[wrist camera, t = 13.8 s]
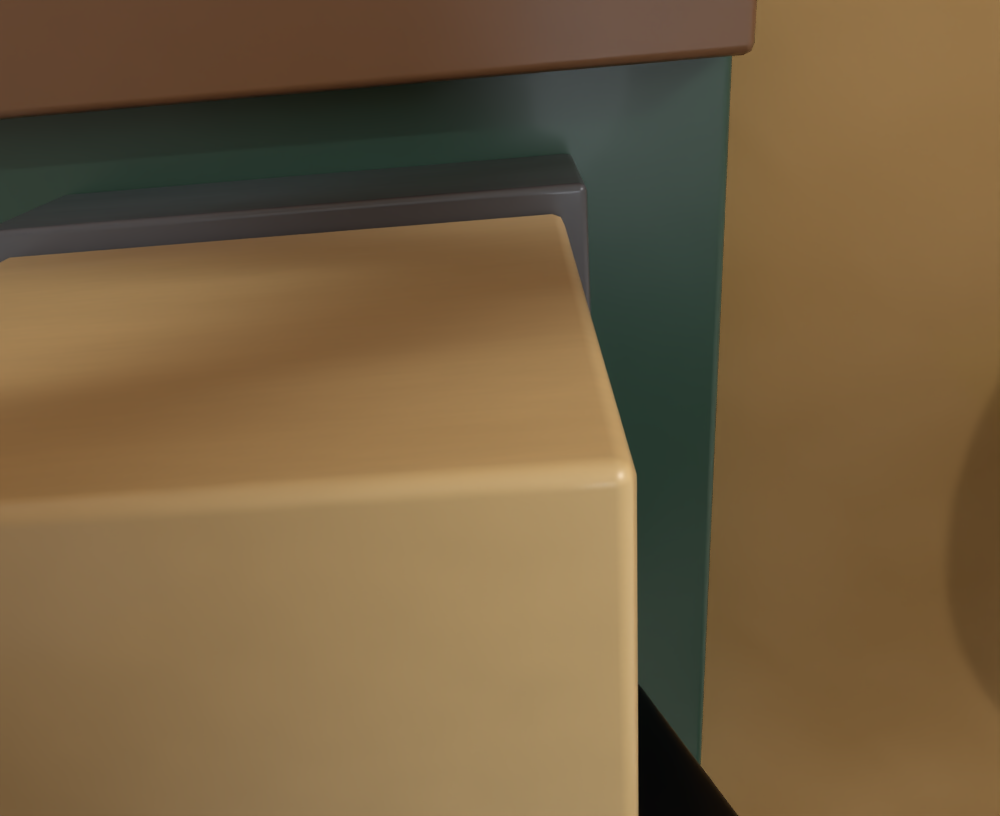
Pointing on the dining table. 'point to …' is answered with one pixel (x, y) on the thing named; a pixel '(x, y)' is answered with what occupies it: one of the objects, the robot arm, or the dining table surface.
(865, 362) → the dining table surface
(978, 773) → the dining table surface
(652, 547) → the slate board
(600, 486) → the eraser
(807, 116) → the dining table surface
